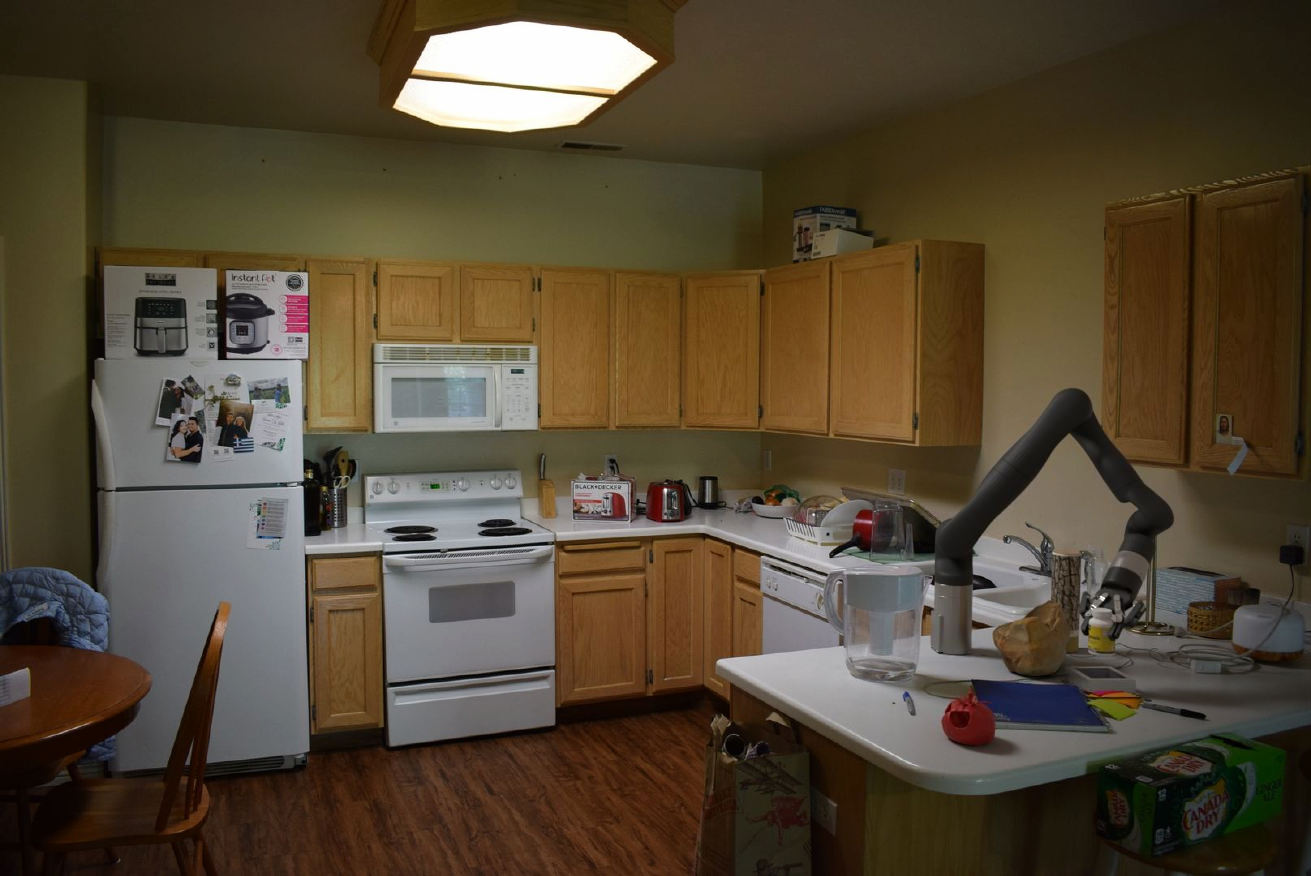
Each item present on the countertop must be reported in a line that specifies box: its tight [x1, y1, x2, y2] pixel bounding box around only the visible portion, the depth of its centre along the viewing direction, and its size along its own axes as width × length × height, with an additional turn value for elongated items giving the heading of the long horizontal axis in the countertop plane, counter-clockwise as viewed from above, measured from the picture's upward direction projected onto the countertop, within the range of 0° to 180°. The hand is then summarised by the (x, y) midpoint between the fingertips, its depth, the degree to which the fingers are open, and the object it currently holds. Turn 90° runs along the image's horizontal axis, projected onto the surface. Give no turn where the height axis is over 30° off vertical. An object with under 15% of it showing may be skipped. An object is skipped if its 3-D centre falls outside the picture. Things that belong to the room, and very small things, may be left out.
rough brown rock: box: [992, 599, 1070, 677], centre depth 232 cm, size 23×17×15 cm
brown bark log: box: [1050, 549, 1082, 654], centre depth 246 cm, size 7×7×25 cm
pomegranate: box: [940, 690, 996, 747], centre depth 181 cm, size 10×10×9 cm
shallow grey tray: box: [1059, 665, 1142, 698], centre depth 214 cm, size 12×12×4 cm
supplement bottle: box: [1087, 608, 1116, 658], centre depth 213 cm, size 5×5×10 cm
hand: (1097, 636), depth 212 cm, fingers closed on supplement bottle, 5 cm apart
